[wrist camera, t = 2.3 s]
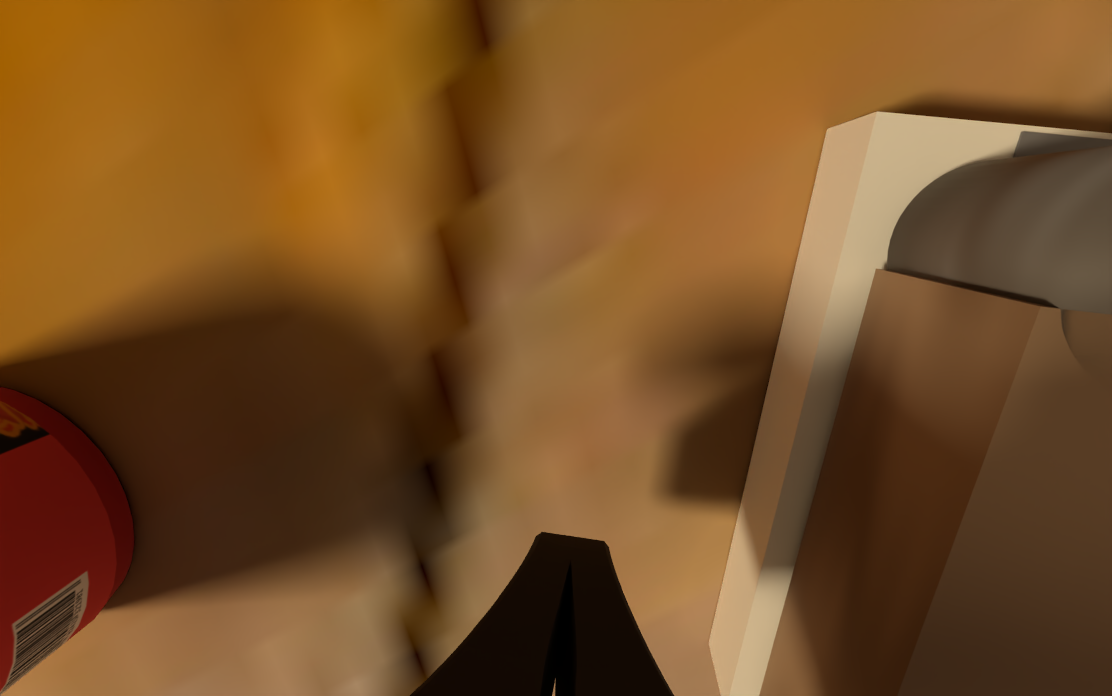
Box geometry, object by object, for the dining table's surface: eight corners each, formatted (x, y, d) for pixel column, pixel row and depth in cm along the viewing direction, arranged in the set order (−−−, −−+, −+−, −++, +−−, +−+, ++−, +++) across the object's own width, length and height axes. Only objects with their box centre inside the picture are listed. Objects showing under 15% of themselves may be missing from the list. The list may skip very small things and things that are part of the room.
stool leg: (908, 151, 8) (1111, 113, 5) (1104, 170, 8) (1452, 145, 5) (754, 712, 12) (814, 919, 8) (892, 735, 11) (1011, 956, 8)
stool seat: (1210, 723, 13) (1315, 813, 11) (708, 642, 14) (725, 714, 12) (1524, 195, 10) (1760, 192, 8) (827, 128, 10) (877, 110, 8)
